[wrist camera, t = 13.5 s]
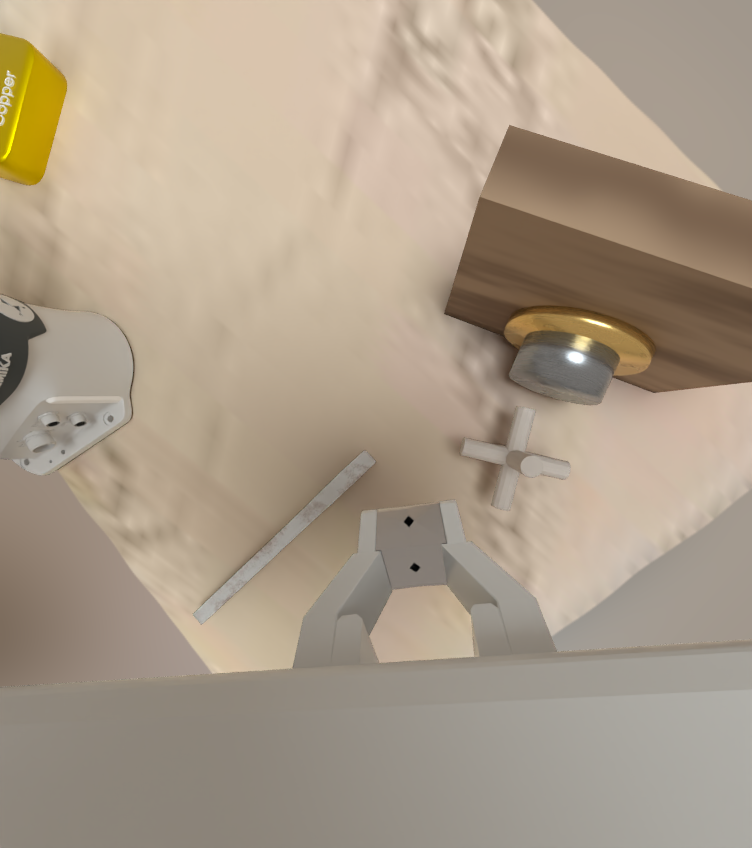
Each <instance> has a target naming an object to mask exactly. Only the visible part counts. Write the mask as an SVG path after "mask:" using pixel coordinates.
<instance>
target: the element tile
mask: <svg viewBox="0 0 752 848" xmlns="http://www.w3.org/2000/svg"><path fill="white" fill-rule="evenodd" d="M66 91H67V81H66V79H65V77H64V75H63V74H62V73H61V72H60V71H59V70H57V69H56V68H55V67H54V66H53V65H52V64H51V63H50V62H49V61H48V60H47V59H46V58H45V57H44V56H43V55H42V54H41V53H40V52H39V51H38V50H37V49H36V48H35V47H34V46H33V45H32V44H31V43H30V42H29V41H27V40H25V39H22V38H18V37H14V36H10V35H6V34H1V33H0V178H4V179H7V180H11V181H14V182H18V183H21V184H25V185H35V184H37V183H38V182H40V180H41V179H42V177H43V175H44V173H45V170H46V166H47V162H48V158H49V155H50V151H51V147H52V144H53V140H54V136H55V132H56V129H57V125H58V121H59V117H60V114H61V110H62V106H63V103H64V99H65V95H66Z"/></svg>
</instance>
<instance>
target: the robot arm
mask: <svg viewBox="0 0 752 848" xmlns="http://www.w3.org/2000/svg"><path fill="white" fill-rule="evenodd" d="M132 377H133V358H132V353H131V349H130V346H129V344H128V341H127V339H126V337H125V336H124V334H123V333H122V331H121V330H120V329H119V328H118V327H117V325H116V324H114V323H113V322H112V321H111V320H109V319H108V318H106V317H105V316H102V315H100V314H98V313H94V312H89V311H69V310H60V309H53V308H47V307H42V306H36V305H31V304H27V303H23V302H21V301H19V300H16V299H13V298H11V297H8V296H5V295H3V294H0V459H11V460H12V461H14V462H15V463H16V464H17V465H19V466H20V467H21V468H23V469H24V470H26V471H28V472H30V473H33V474H36V475H49V474H51V473H53V472H54V471H56V470H57V469H59V468H60V467H62V466H63V465H65V464H66V463H68V462H69V461H71V460H72V459H74V458H75V457H77V456H78V455H80V454H81V453H83V452H84V451H86V450H87V449H89V448H90V447H92V446H93V445H95V444H96V443H98V442H99V441H101V440H102V439H104V438H105V437H107V436H108V435H110V434H111V433H113V432H114V431H116V430H117V429H119V428H120V427H122V426H123V425H125V424H126V423H127V422H129V420H130V419H131V416H132V409H131V402H130V396H129V395H130V387H131V383H132ZM113 418H114V420H113ZM432 585H447V586H448V587H449V588H450V590H451V591H452V592H453V593H454V595H455V596H456V597H457V599H458V600H459V601H460V602H461V604H462V605H463V606H464V607H465V609H466V610H467V611H468V612H469V614H470V615H471V623H472V634H473V646H474V657H466V658H450V659H434V660H419V661H403V662H388V663H379V661H378V658H377V656H376V653H375V651H374V648H373V645H372V643H371V640H370V638H369V635H370V633H371V631H372V629H373V628H374V626H375V624H376V622H377V620H378V618H379V616H380V614H381V612H382V610H383V608H384V606H385V604H386V602H387V600H388V598H389V596H390V595H391V593H392V590H393V589H401V588H409V587H417V586H432ZM0 848H752V639H748V640H732V641H716V642H701V643H686V644H669V645H654V646H638V647H623V648H608V649H593V650H577V651H561V652H557V650H556V647H555V645H554V643H553V640H552V637H551V635H550V632H549V630H548V627H547V625H546V622H545V620H544V617H543V615H542V612H541V610H540V607H539V605H538V602H537V600H536V598H535V597H534V596H533V595H532V594H531V593H529V592H528V591H527V590H526V589H525V588H524V587H523V586H521V585H520V584H519V583H518V582H517V581H516V580H515V579H514V578H512V577H511V576H510V575H509V574H508V573H507V572H506V571H504V570H503V569H502V568H501V567H500V566H499V565H498V564H497V563H495V562H494V561H493V560H492V559H491V558H490V557H489V556H487V555H486V554H485V553H484V552H483V551H482V550H481V549H480V548H478V547H477V546H476V545H475V544H474V543H473V542H472V541H470V542H466V538H465V534H464V530H463V526H462V522H461V518H460V514H459V510H458V506H457V502H456V501H455V499H454V500H447V501H439V502H432V503H424V504H417V505H409V506H402V507H392V508H382V509H375V510H364V511H362V513H361V518H360V529H359V540H358V552H357V553H356V554H352V556H351V557H350V558H349V559H348V561H347V562H346V563H345V565H344V566H343V567H342V568H341V570H340V571H339V572H338V574H337V575H336V576H335V577H334V579H333V580H332V581H331V583H330V584H329V585H328V586H327V588H326V589H325V590H324V592H323V593H322V594H321V595H320V597H319V598H318V599H317V601H316V602H315V603H314V604H313V606H312V607H311V608H310V609H309V611H308V612H307V613H306V615H305V616H304V618H303V622H302V627H301V631H300V636H299V641H298V645H297V650H296V655H295V659H294V664H293V669H279V670H264V671H248V672H232V673H217V674H201V675H186V676H170V677H156V678H155V677H154V678H138V679H122V680H107V681H92V682H75V683H59V684H43V685H27V686H11V687H10V686H9V687H0Z"/></svg>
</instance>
